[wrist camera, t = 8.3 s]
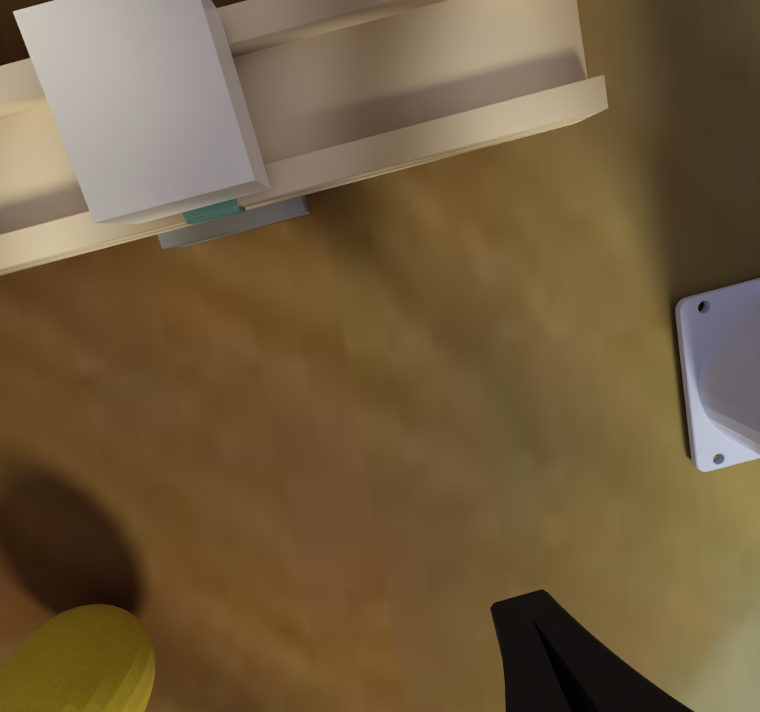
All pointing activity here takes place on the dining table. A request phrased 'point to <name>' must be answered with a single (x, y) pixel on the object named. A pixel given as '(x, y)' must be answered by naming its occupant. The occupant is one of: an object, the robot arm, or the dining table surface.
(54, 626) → the lemon
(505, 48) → the beam
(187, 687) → the dining table surface
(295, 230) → the dining table surface
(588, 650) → the robot arm
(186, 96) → the rider
